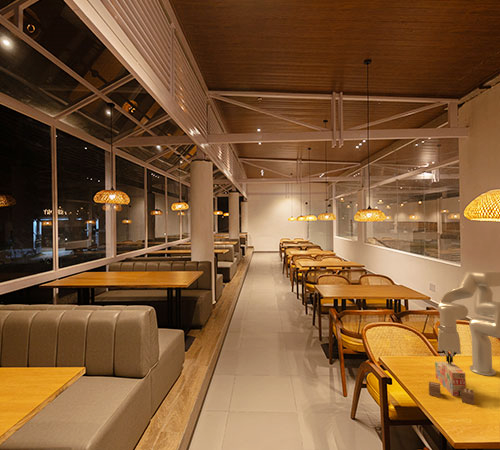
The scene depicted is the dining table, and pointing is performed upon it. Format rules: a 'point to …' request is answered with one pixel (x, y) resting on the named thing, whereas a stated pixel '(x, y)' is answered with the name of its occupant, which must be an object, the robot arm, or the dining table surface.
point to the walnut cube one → (434, 389)
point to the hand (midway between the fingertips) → (449, 363)
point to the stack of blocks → (450, 377)
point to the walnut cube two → (467, 396)
